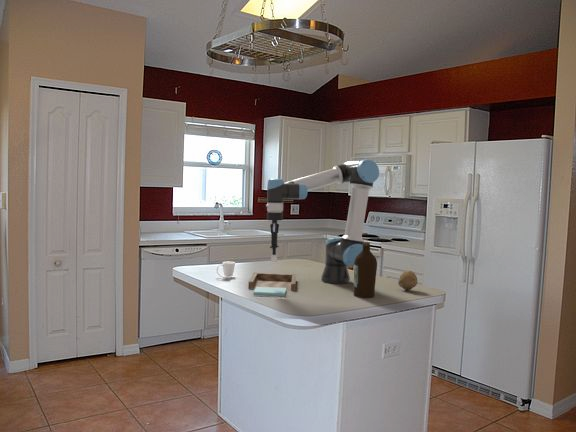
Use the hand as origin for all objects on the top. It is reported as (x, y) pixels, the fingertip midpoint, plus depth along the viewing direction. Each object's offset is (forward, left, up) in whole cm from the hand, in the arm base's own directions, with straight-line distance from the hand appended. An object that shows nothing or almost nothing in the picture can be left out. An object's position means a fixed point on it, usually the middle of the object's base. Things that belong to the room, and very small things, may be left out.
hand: (274, 261), depth 244 cm
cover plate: (+1, +10, -14) cm, 17 cm away
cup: (+26, -26, -14) cm, 39 cm away
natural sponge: (-67, -13, -14) cm, 69 cm away
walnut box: (0, -9, -14) cm, 17 cm away
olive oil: (-43, +4, -14) cm, 45 cm away
